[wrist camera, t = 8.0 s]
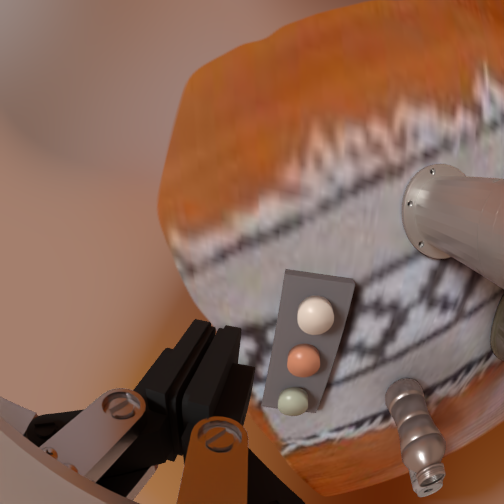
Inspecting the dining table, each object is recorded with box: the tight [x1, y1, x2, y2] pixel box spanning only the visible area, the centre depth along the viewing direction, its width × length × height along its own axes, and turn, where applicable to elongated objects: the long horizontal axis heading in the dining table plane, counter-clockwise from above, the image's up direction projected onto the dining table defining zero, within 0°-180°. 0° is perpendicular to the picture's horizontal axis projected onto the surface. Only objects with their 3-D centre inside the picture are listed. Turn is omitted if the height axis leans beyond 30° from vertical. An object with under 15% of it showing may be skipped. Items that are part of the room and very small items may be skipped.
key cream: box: [297, 296, 334, 335], centre depth 34 cm, size 4×4×2 cm
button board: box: [261, 269, 355, 413], centre depth 38 cm, size 9×23×2 cm, turn 173°
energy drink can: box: [408, 468, 444, 497], centre depth 34 cm, size 6×6×15 cm
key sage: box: [278, 387, 308, 416], centre depth 38 cm, size 4×4×2 cm
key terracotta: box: [287, 344, 320, 377], centre depth 36 cm, size 4×4×2 cm
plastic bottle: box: [385, 378, 446, 488], centre depth 29 cm, size 6×7×20 cm
